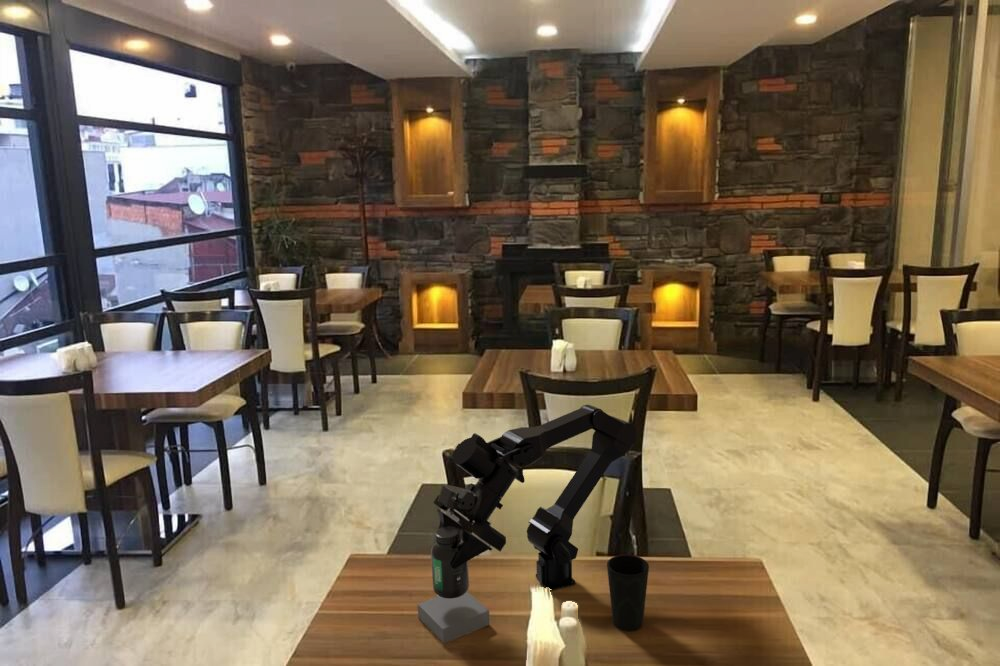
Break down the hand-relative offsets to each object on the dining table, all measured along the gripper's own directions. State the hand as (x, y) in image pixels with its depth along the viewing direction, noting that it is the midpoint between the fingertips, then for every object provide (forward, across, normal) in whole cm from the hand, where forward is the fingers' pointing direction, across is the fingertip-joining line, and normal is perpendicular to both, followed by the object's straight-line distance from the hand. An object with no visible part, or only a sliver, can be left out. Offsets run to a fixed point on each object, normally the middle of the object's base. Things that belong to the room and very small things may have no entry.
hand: (442, 559), depth 140 cm
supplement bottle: (+4, 0, +6) cm, 7 cm away
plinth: (+8, 0, +10) cm, 13 cm away
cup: (-10, +20, +30) cm, 37 cm away
